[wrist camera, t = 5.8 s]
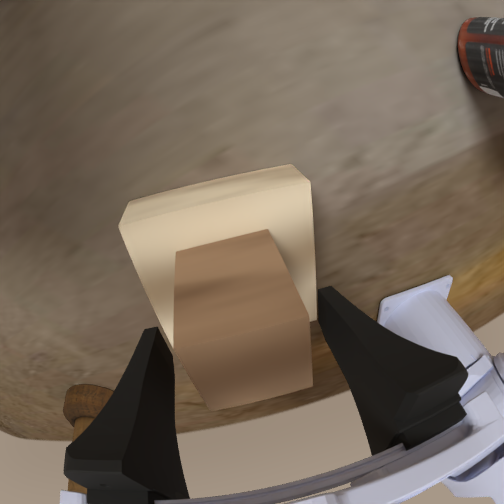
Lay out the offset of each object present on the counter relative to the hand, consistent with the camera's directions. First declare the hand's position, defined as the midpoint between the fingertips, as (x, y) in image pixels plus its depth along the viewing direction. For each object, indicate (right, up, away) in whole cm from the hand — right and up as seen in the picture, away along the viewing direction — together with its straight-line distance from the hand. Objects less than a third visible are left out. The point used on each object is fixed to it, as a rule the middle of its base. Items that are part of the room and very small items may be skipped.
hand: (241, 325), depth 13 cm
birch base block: (-1, +3, +5) cm, 6 cm away
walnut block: (-1, +2, +3) cm, 3 cm away
